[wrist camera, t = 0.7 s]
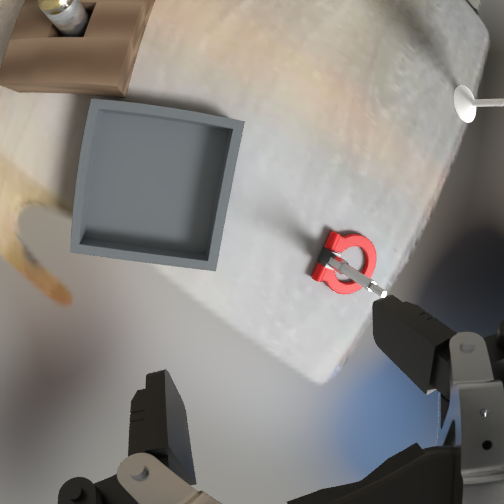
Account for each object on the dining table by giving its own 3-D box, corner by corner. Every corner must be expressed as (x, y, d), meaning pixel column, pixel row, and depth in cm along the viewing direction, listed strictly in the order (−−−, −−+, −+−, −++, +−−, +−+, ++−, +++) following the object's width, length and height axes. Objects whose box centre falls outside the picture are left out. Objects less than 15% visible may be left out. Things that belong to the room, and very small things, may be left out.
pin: (76, 26, 26) (45, -19, 15) (101, 26, 27) (77, -21, 16) (68, 49, 27) (32, 11, 16) (93, 50, 28) (64, 9, 16)
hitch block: (53, -9, 23) (39, -29, 18) (157, -7, 27) (157, -32, 22) (18, 92, 26) (-4, 83, 21) (125, 97, 30) (117, 86, 25)
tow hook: (380, 243, 44) (330, 222, 41) (444, 274, 32) (395, 252, 29) (357, 296, 46) (306, 282, 42) (413, 339, 34) (360, 330, 30)
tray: (98, 103, 30) (91, 98, 27) (237, 124, 34) (244, 121, 31) (78, 243, 34) (70, 252, 30) (211, 261, 38) (215, 271, 35)
